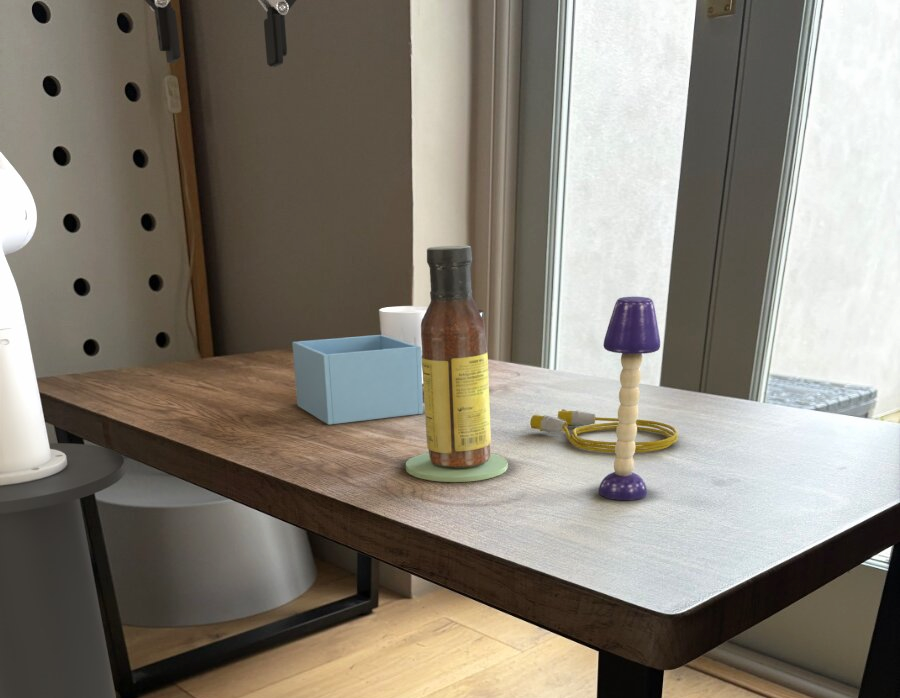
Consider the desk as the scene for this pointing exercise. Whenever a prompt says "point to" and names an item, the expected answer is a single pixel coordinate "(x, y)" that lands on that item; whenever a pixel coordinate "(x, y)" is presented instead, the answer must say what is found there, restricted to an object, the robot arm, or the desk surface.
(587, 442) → the extension cord
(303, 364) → the case
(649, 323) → the toy lamp
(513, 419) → the desk surface
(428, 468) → the mat
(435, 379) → the sauce bottle
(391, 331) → the white cup
